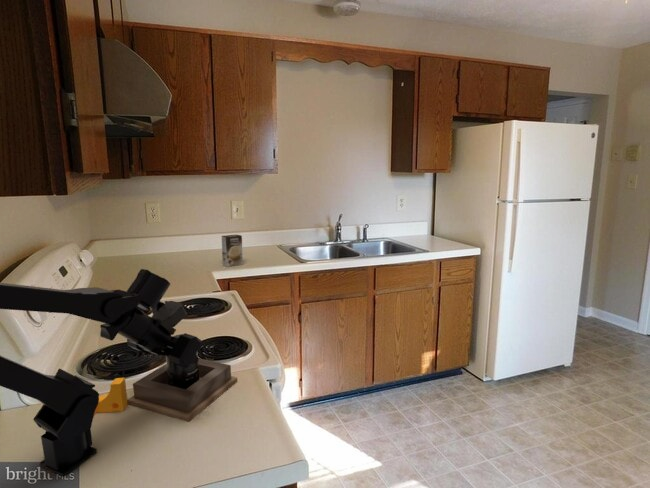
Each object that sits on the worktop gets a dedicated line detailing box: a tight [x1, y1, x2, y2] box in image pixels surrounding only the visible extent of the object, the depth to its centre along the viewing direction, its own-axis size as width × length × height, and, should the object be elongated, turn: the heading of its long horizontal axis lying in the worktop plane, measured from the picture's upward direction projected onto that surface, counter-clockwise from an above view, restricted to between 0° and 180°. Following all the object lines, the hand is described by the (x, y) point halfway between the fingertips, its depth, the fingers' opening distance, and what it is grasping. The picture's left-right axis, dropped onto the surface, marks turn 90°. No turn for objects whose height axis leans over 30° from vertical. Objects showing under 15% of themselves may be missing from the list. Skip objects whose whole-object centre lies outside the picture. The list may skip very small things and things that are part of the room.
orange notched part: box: [94, 377, 129, 416], centre depth 84 cm, size 12×4×6 cm, turn 96°
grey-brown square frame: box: [127, 358, 238, 423], centre depth 92 cm, size 17×17×4 cm
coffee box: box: [221, 234, 244, 268], centre depth 214 cm, size 9×6×16 cm
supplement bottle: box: [165, 333, 200, 389], centre depth 91 cm, size 7×7×12 cm
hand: (187, 357), depth 92 cm, fingers closed on supplement bottle, 7 cm apart
